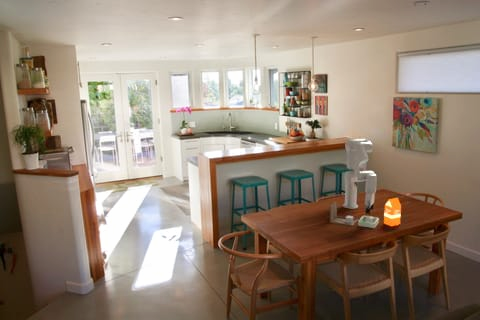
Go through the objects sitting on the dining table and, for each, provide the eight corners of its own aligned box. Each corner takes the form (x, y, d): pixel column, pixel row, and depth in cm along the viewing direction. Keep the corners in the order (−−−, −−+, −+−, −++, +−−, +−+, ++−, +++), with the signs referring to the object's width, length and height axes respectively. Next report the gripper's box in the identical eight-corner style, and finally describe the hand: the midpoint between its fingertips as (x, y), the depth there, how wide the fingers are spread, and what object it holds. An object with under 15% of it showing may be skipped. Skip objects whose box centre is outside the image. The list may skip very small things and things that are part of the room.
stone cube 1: (367, 221, 303) (367, 215, 302) (373, 222, 300) (373, 216, 299) (365, 223, 299) (365, 217, 298) (371, 224, 297) (371, 218, 296)
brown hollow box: (335, 217, 314) (336, 201, 311) (357, 221, 305) (358, 204, 302) (329, 223, 302) (330, 206, 299) (352, 227, 293) (352, 209, 290)
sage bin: (362, 220, 306) (363, 215, 306) (378, 223, 300) (379, 218, 299) (358, 226, 295) (358, 221, 294) (374, 229, 289) (374, 223, 288)
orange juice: (383, 223, 300) (384, 198, 296) (392, 221, 303) (393, 196, 299) (391, 226, 293) (392, 200, 289) (400, 224, 296) (401, 199, 292)
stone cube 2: (347, 221, 304) (347, 215, 303) (353, 222, 302) (353, 216, 301) (345, 222, 300) (345, 217, 300) (351, 223, 298) (351, 218, 297)
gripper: (368, 186, 304) (367, 206, 308) (362, 192, 289) (361, 214, 294) (378, 187, 300) (377, 208, 304) (373, 194, 286) (371, 216, 290)
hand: (369, 211), depth 299 cm, fingers open, 9 cm apart
